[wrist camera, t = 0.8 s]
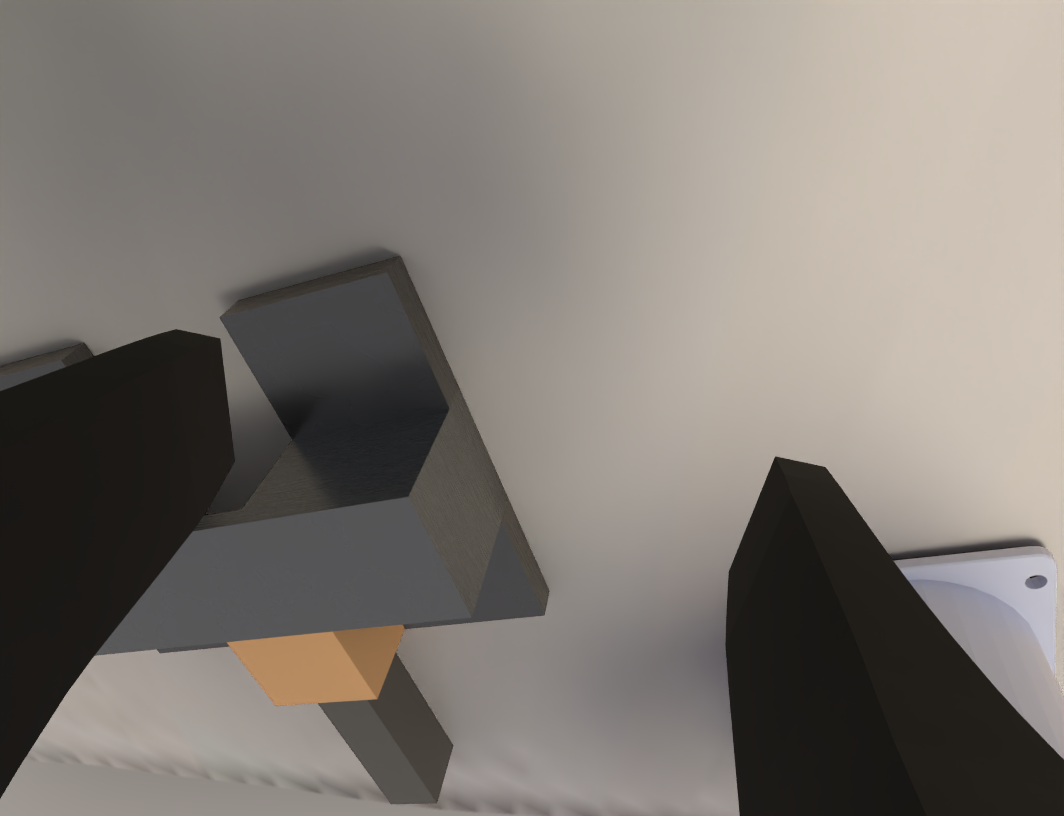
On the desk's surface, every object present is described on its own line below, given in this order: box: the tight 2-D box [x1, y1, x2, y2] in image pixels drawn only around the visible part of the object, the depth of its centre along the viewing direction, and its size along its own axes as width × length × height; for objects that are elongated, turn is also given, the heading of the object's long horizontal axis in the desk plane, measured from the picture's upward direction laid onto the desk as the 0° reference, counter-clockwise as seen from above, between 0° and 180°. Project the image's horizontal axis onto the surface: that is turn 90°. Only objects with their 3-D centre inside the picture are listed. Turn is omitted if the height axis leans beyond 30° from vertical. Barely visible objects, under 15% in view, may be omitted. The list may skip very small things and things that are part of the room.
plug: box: [227, 625, 453, 804], centre depth 27 cm, size 11×4×3 cm, turn 19°
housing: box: [0, 256, 549, 655], centre depth 23 cm, size 12×16×5 cm
